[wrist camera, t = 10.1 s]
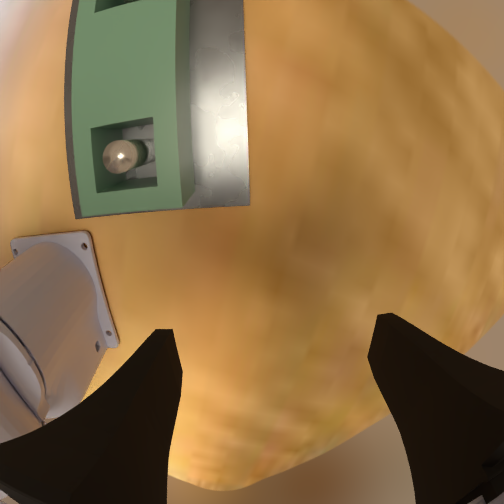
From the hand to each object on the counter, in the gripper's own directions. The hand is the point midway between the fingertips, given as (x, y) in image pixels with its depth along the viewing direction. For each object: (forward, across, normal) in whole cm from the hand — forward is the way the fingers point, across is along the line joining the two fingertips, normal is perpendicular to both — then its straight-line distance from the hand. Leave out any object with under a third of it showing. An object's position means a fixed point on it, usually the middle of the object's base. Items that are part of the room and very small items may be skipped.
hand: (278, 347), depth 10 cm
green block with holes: (+8, +6, -11) cm, 15 cm away
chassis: (+9, +6, -11) cm, 16 cm away
